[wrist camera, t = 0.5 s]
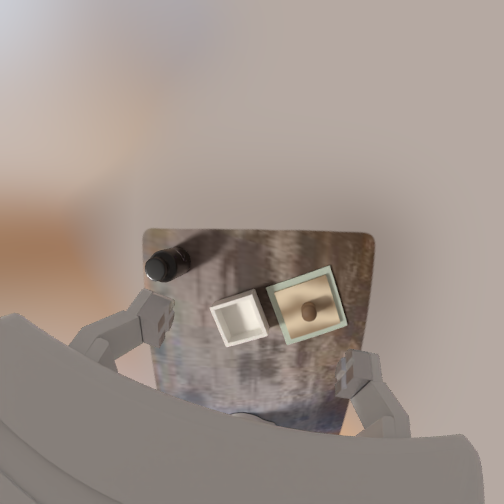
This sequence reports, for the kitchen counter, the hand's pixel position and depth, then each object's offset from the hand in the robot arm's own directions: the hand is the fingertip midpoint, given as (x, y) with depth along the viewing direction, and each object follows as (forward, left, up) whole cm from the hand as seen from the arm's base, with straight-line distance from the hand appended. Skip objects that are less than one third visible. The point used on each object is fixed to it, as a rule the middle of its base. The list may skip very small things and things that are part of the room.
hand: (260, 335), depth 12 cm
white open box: (-13, +15, -50) cm, 53 cm away
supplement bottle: (+4, +25, -49) cm, 56 cm away
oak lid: (-16, 0, -49) cm, 51 cm away
